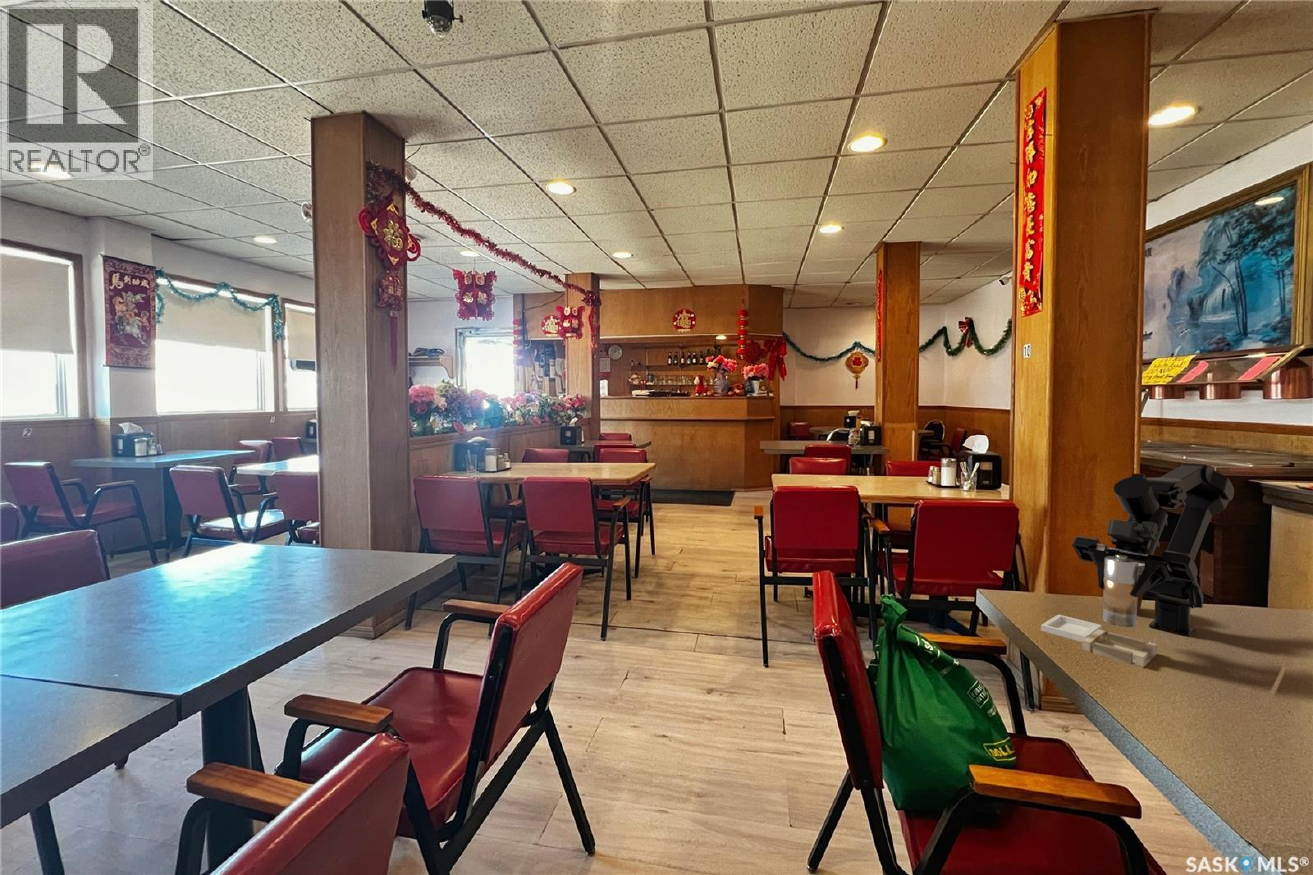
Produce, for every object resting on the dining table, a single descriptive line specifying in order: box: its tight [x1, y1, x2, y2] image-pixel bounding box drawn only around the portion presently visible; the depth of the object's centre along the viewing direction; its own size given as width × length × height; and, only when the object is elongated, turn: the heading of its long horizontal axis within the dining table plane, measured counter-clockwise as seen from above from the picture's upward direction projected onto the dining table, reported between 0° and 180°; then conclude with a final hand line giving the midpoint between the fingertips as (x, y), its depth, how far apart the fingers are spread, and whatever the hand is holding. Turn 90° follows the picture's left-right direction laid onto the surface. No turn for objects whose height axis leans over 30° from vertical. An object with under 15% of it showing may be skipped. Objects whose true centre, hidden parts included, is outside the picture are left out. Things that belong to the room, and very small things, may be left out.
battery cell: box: [1102, 555, 1138, 628], centre depth 108 cm, size 5×5×13 cm
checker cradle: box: [1081, 629, 1158, 669], centre depth 109 cm, size 9×9×2 cm
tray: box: [1040, 614, 1103, 643], centre depth 120 cm, size 10×8×2 cm
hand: (1117, 591), depth 108 cm, fingers closed on battery cell, 5 cm apart
